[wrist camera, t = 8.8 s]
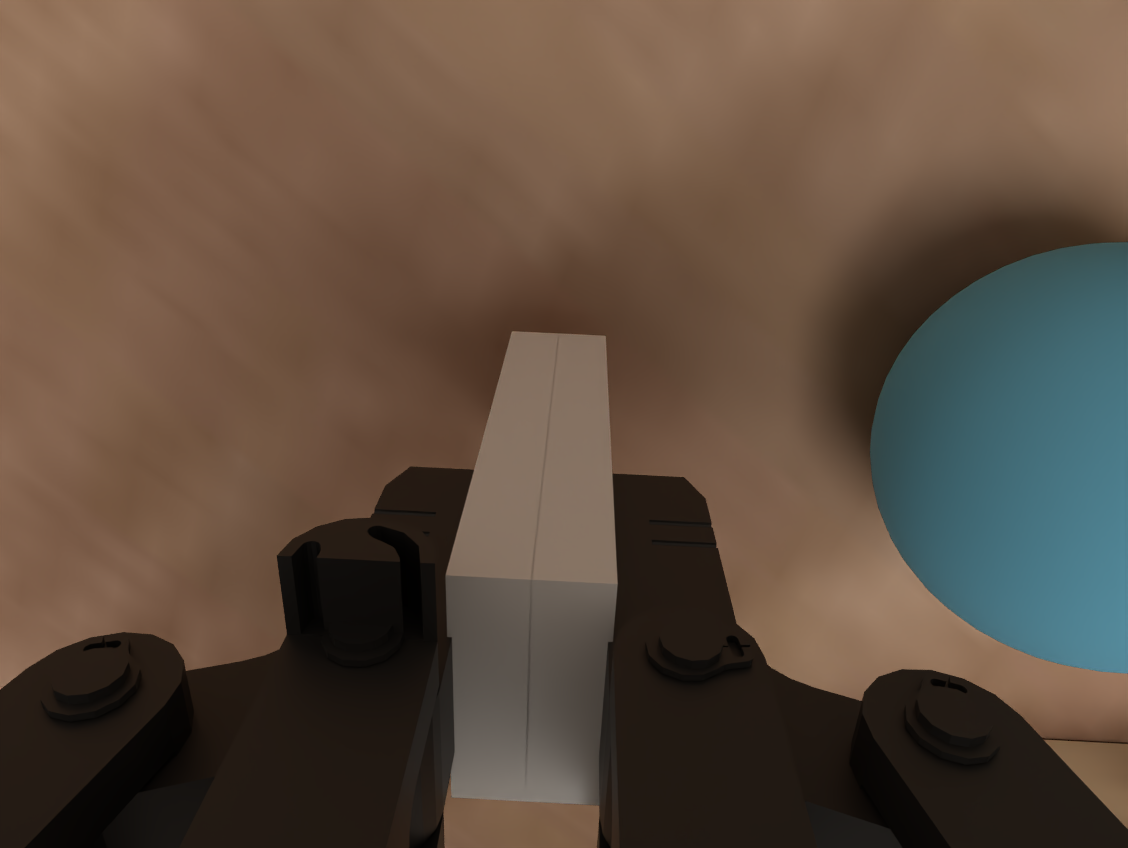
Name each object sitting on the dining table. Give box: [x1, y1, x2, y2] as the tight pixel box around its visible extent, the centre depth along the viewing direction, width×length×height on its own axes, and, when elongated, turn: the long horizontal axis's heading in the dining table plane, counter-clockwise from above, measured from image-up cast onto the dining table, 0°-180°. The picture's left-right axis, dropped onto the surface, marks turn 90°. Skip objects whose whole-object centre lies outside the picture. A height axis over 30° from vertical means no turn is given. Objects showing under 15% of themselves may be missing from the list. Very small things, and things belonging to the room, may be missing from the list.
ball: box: [870, 242, 1128, 673], centre depth 12 cm, size 6×6×6 cm
